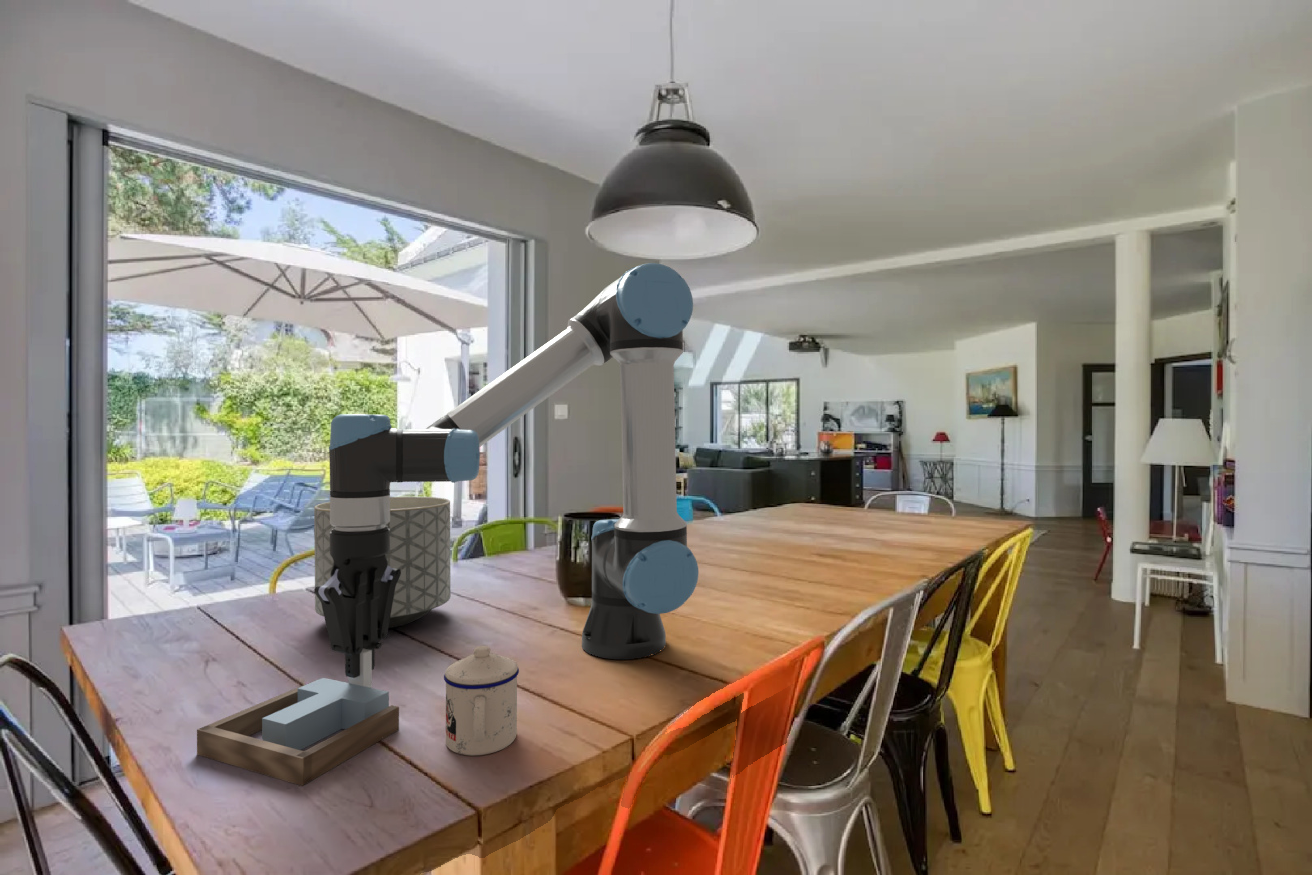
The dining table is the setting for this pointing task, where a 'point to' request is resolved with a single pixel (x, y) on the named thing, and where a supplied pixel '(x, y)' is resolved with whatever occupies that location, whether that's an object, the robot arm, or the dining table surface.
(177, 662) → the dining table surface
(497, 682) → the teacup with lid
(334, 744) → the frame
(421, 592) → the planter
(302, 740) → the t block
